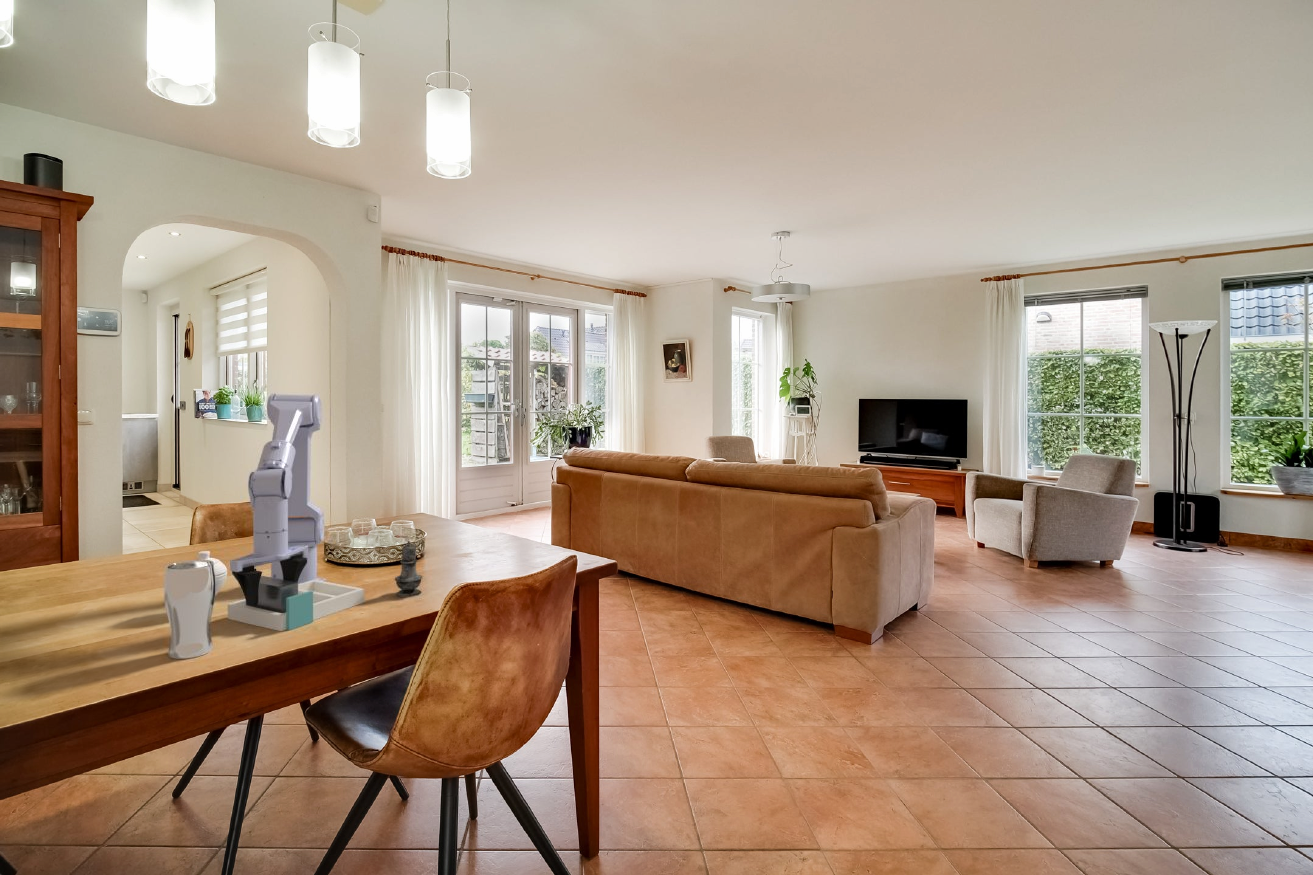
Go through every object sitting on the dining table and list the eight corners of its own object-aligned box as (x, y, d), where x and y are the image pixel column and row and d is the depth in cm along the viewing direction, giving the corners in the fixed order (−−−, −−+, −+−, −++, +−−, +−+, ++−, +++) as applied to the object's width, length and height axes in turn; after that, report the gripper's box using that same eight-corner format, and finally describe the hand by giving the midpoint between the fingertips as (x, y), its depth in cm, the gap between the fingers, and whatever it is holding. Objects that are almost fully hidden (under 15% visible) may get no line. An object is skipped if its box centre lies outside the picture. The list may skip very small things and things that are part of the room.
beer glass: (182, 644, 109) (181, 559, 109) (225, 644, 110) (224, 559, 109) (154, 660, 102) (153, 570, 102) (199, 660, 103) (198, 570, 102)
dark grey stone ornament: (412, 598, 138) (413, 544, 137) (388, 596, 139) (389, 542, 138) (427, 590, 143) (428, 538, 143) (404, 588, 144) (404, 536, 144)
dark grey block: (245, 615, 123) (245, 580, 122) (263, 610, 126) (262, 575, 126) (281, 623, 119) (281, 587, 119) (298, 617, 122) (298, 582, 122)
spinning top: (236, 607, 129) (236, 549, 128) (198, 619, 122) (198, 557, 121) (210, 602, 131) (209, 545, 131) (171, 613, 124) (170, 553, 123)
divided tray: (227, 618, 122) (227, 588, 122) (314, 592, 140) (314, 565, 139) (284, 632, 116) (284, 600, 116) (367, 602, 134) (367, 575, 133)
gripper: (247, 539, 113) (248, 613, 114) (318, 526, 127) (318, 592, 128) (222, 535, 116) (222, 607, 117) (293, 522, 129) (294, 587, 130)
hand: (271, 599), depth 122 cm, fingers open, 7 cm apart
